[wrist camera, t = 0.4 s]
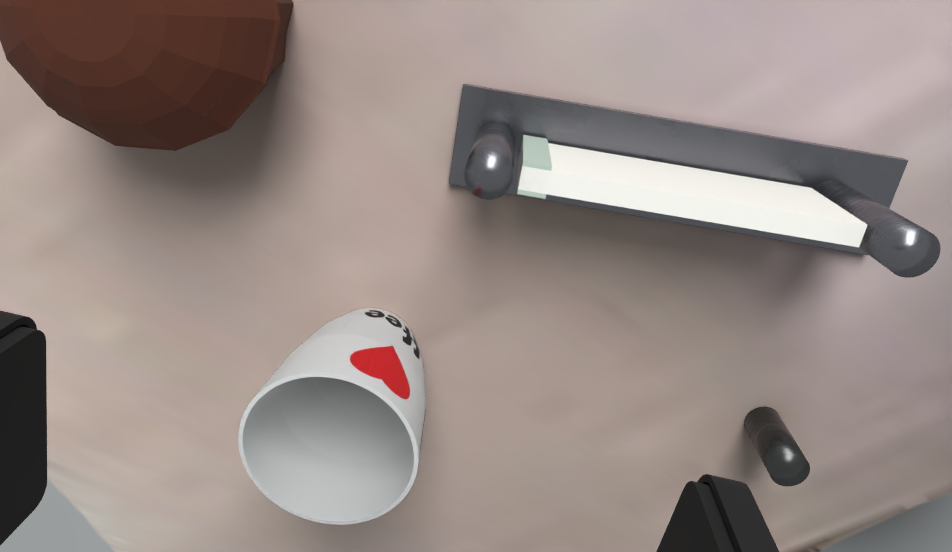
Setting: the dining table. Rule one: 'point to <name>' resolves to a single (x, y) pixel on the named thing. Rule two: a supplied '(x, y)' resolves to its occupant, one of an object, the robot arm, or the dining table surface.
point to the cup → (340, 421)
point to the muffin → (146, 62)
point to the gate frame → (709, 148)
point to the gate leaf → (683, 192)
